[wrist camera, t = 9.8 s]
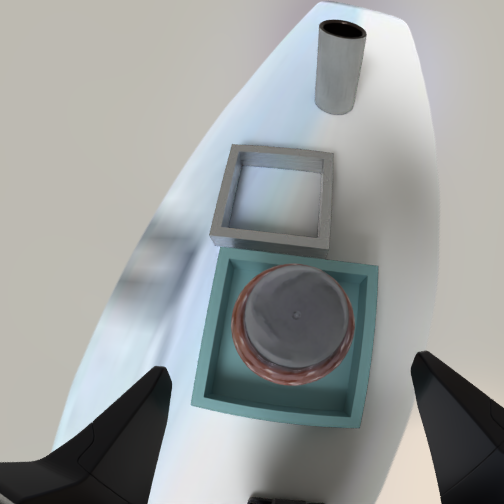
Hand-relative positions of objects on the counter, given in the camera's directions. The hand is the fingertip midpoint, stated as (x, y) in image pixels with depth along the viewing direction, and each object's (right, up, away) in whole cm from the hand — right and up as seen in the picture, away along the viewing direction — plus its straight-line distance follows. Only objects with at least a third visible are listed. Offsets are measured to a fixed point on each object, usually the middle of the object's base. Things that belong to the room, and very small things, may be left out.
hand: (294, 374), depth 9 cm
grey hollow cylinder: (+8, +21, +21) cm, 31 cm away
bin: (+1, -3, +12) cm, 13 cm away
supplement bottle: (+1, -2, +12) cm, 12 cm away
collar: (+1, +8, +16) cm, 18 cm away
